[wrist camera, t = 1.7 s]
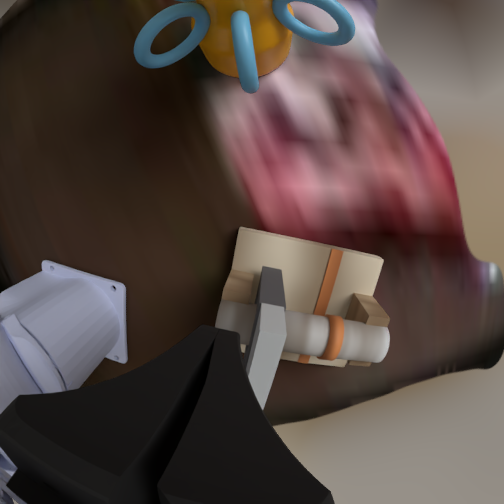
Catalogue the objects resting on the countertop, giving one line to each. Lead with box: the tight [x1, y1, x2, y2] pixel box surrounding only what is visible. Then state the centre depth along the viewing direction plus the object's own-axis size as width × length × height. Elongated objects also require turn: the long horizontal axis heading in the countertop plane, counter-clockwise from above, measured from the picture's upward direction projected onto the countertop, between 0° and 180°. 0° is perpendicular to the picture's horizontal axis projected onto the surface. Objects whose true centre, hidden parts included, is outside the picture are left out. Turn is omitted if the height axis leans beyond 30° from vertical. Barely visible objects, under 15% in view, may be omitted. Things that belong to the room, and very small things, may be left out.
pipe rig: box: [215, 227, 390, 367], centre depth 17 cm, size 10×9×6 cm
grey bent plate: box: [243, 266, 287, 410], centre depth 14 cm, size 1×5×8 cm, turn 169°
